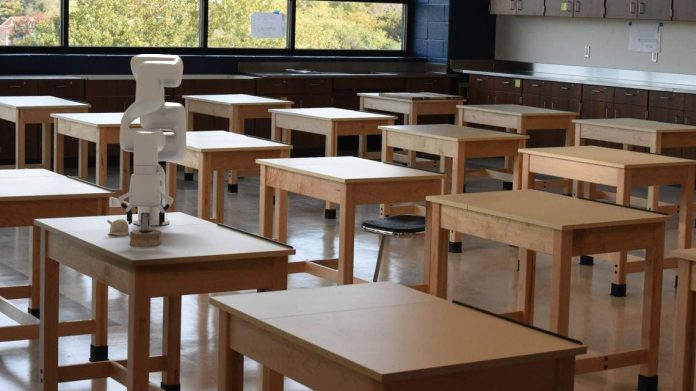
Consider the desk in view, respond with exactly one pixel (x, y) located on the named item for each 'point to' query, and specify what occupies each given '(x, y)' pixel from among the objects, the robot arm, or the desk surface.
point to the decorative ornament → (118, 227)
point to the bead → (145, 238)
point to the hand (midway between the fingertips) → (145, 224)
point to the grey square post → (145, 222)
